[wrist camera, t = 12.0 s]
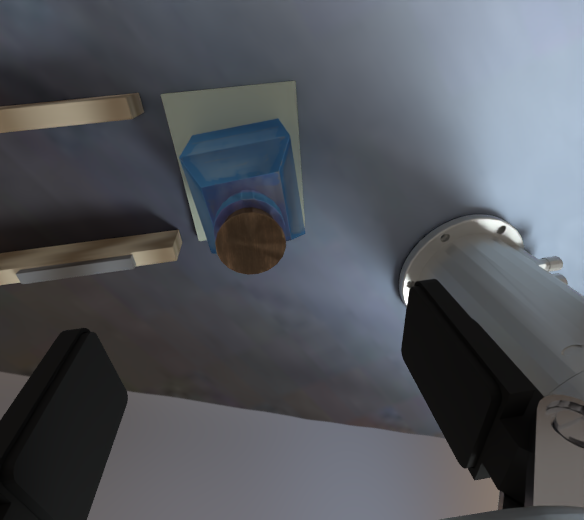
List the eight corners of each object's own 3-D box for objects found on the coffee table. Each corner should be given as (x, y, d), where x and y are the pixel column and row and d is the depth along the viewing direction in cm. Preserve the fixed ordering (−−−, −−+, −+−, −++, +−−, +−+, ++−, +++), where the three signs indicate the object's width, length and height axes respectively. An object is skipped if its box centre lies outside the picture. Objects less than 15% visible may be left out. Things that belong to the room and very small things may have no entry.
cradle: (138, 92, 22) (122, 98, 19) (182, 242, 28) (175, 264, 25) (-88, 115, 21) (-144, 124, 18) (8, 265, 27) (-21, 292, 24)
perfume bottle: (192, 135, 23) (157, 194, 13) (278, 118, 23) (309, 163, 13) (216, 214, 26) (203, 311, 16) (292, 199, 27) (325, 285, 17)
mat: (294, 80, 23) (295, 81, 22) (303, 223, 29) (304, 226, 28) (162, 93, 22) (160, 94, 22) (199, 237, 28) (198, 241, 27)
